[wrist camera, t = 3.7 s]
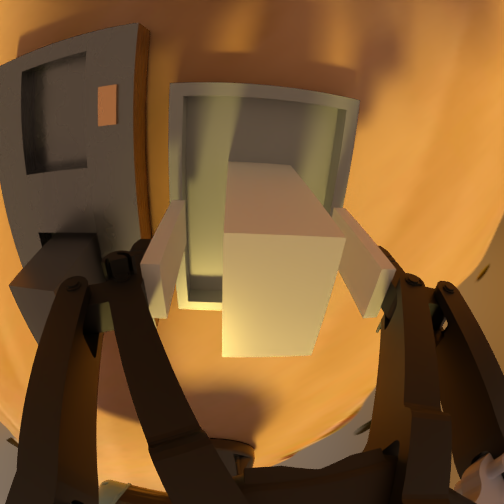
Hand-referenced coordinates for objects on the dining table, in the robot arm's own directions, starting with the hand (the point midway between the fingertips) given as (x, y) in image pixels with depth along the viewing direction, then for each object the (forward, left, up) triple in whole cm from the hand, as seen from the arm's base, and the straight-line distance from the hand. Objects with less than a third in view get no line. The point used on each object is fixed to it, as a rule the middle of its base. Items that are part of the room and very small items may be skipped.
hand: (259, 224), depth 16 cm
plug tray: (0, 0, -3) cm, 3 cm away
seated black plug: (-5, +14, -2) cm, 15 cm away
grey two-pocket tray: (+1, +14, -3) cm, 14 cm away
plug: (0, 0, -3) cm, 3 cm away
